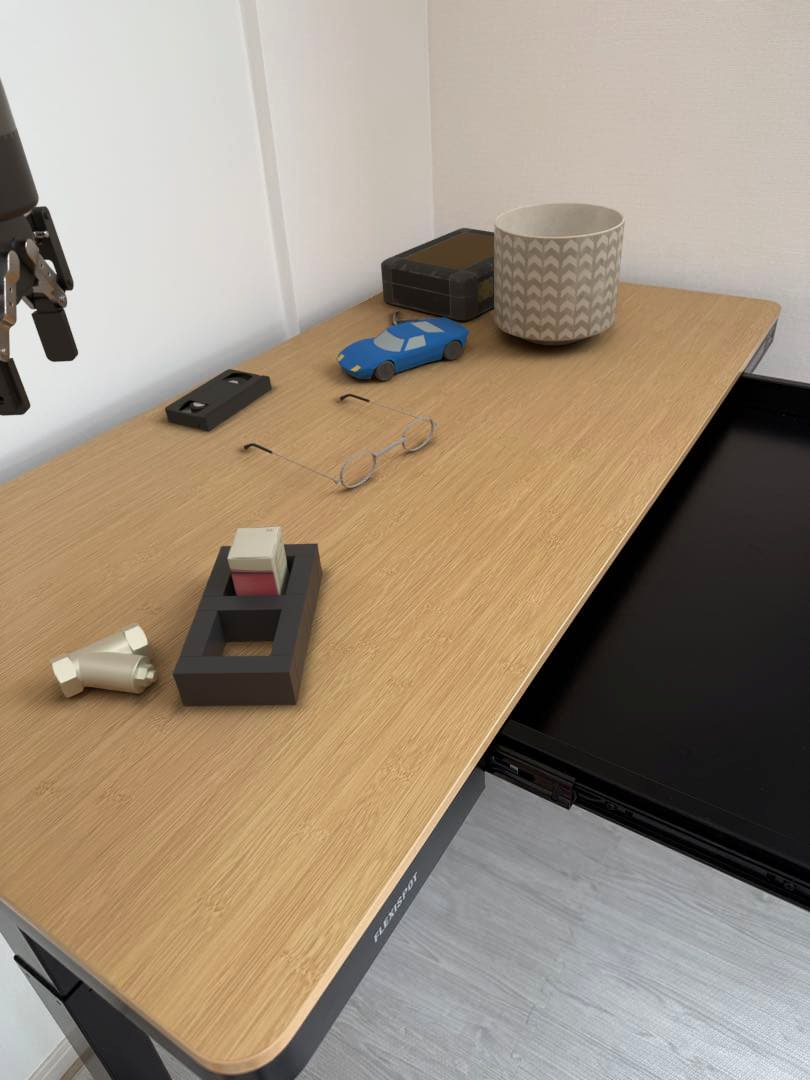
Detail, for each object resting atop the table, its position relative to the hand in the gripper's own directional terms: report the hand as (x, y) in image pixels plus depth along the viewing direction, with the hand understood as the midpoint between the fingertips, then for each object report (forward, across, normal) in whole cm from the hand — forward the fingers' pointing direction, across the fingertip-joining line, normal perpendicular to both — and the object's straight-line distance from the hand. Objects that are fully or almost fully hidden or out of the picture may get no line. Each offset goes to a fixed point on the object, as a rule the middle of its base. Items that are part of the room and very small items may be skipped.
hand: (40, 384), depth 56 cm
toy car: (+28, -65, +21) cm, 74 cm away
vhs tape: (+28, -53, -5) cm, 60 cm away
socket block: (+28, -4, +10) cm, 30 cm away
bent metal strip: (+28, -82, +20) cm, 89 cm away
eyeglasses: (+28, -40, +14) cm, 51 cm away
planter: (+28, -73, +45) cm, 90 cm away
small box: (+28, -8, +10) cm, 31 cm away
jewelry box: (+28, -96, +31) cm, 104 cm away
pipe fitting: (+28, +2, -2) cm, 28 cm away
